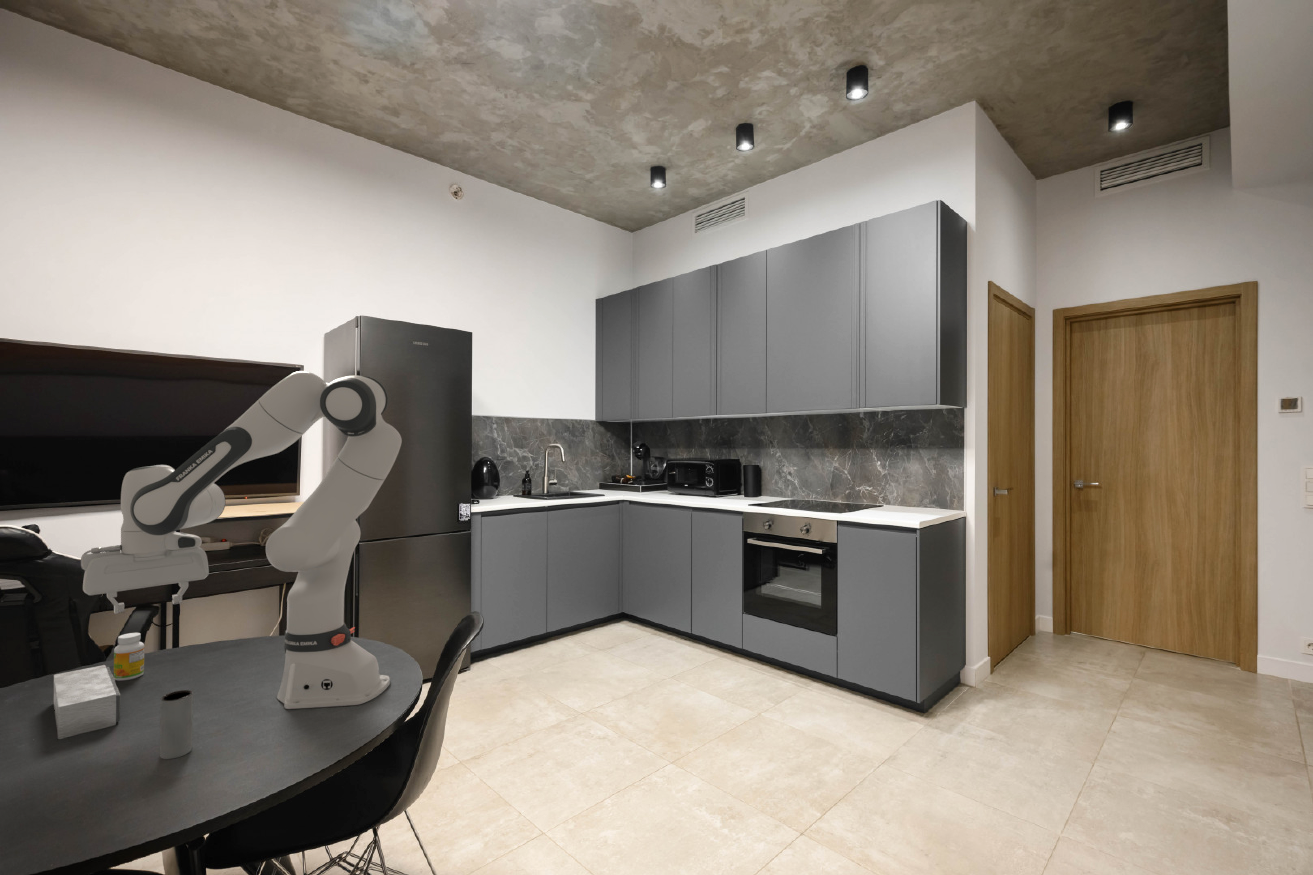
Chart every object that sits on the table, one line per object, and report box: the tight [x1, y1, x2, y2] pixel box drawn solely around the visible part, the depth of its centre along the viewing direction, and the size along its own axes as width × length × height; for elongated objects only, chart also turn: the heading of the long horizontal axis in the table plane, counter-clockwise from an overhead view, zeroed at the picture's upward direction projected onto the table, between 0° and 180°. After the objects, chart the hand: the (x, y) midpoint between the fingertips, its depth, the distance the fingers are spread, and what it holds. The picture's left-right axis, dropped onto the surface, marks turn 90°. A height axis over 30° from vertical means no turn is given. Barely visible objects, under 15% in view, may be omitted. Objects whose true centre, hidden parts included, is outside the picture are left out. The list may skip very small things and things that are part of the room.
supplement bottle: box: [113, 632, 145, 681], centre depth 142 cm, size 5×5×10 cm
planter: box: [159, 689, 194, 760], centre depth 108 cm, size 4×4×10 cm
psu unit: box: [53, 664, 121, 740], centre depth 123 cm, size 22×9×6 cm, turn 47°
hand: (148, 607), depth 127 cm, fingers open, 8 cm apart
